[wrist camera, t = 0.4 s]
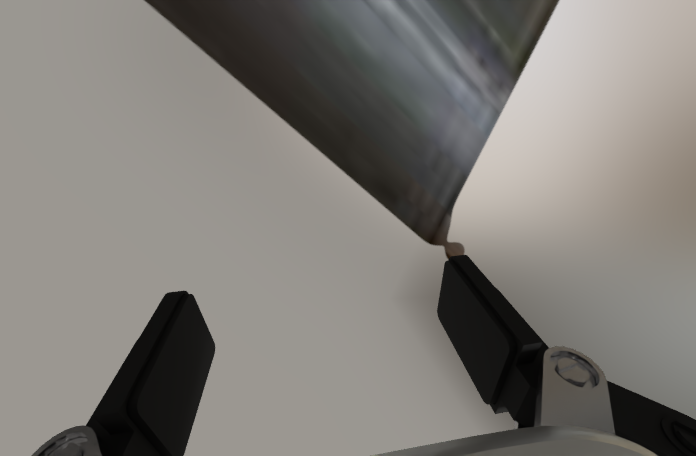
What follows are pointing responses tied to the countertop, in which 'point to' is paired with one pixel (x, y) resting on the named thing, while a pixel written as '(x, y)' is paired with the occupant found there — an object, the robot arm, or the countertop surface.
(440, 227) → the countertop surface
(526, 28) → the countertop surface
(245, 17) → the countertop surface
